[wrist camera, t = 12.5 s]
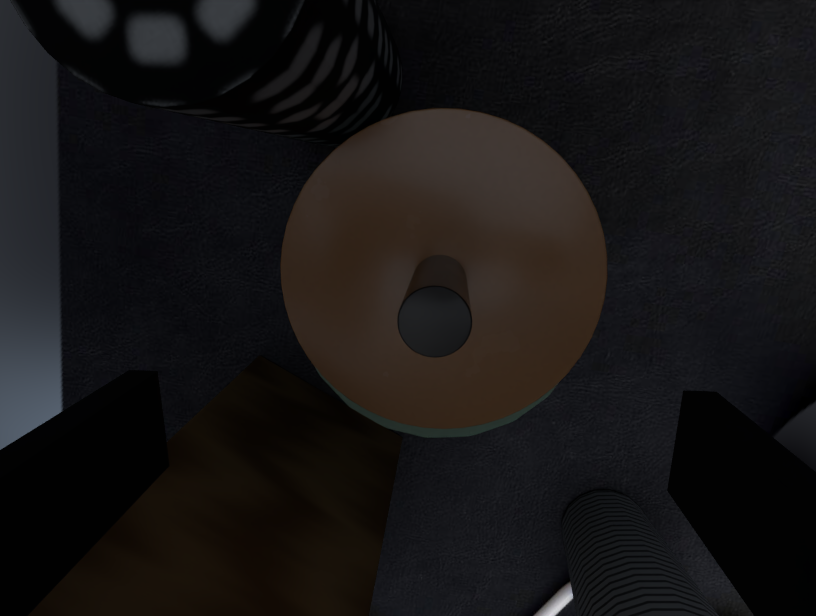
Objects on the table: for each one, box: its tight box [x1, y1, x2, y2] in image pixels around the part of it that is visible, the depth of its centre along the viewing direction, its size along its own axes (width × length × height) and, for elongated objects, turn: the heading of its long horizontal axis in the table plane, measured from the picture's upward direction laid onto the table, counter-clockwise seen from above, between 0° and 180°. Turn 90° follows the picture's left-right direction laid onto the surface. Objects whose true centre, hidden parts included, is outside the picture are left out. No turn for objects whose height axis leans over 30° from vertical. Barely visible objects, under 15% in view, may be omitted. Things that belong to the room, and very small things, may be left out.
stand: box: [28, 356, 402, 616], centre depth 27 cm, size 12×12×24 cm
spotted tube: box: [10, 0, 402, 147], centre depth 22 cm, size 8×8×20 cm
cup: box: [562, 490, 718, 616], centre depth 30 cm, size 8×8×16 cm
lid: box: [281, 108, 607, 429], centre depth 21 cm, size 16×16×8 cm
